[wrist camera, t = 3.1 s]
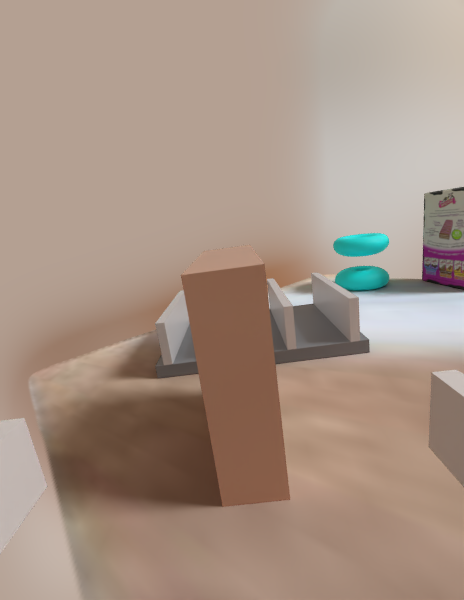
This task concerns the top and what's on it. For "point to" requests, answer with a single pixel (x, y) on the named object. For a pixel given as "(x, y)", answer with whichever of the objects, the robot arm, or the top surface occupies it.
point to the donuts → (361, 275)
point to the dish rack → (275, 328)
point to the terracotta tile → (237, 373)
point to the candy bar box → (444, 237)
